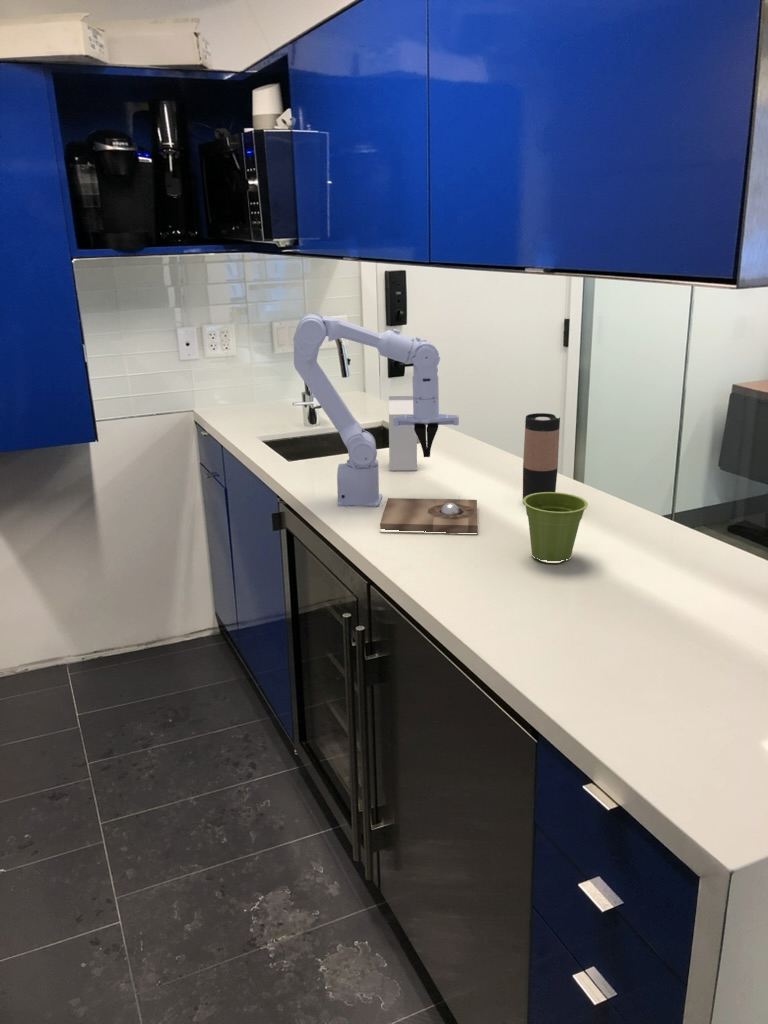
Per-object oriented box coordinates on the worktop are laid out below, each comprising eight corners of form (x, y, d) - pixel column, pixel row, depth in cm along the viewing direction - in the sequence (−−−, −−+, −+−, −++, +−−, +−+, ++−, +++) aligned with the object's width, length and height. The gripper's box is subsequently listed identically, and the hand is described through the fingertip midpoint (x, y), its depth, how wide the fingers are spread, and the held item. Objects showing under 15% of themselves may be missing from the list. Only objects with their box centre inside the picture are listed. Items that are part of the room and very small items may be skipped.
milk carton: (416, 471, 215) (416, 398, 209) (389, 471, 215) (388, 398, 209) (416, 463, 222) (416, 393, 216) (389, 463, 222) (389, 393, 216)
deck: (380, 532, 172) (380, 523, 171) (387, 506, 188) (387, 498, 187) (477, 534, 170) (477, 525, 169) (476, 508, 186) (476, 499, 185)
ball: (453, 516, 174) (446, 527, 177) (466, 509, 177) (458, 520, 180) (441, 503, 176) (434, 514, 178) (453, 496, 178) (446, 507, 181)
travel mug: (516, 505, 187) (520, 418, 181) (527, 496, 194) (531, 411, 187) (549, 510, 184) (554, 421, 178) (559, 500, 190) (564, 414, 184)
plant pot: (533, 572, 151) (536, 513, 148) (511, 549, 162) (513, 494, 159) (594, 566, 153) (598, 509, 150) (568, 544, 164) (572, 489, 161)
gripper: (391, 401, 182) (393, 461, 186) (458, 400, 180) (458, 460, 185) (394, 394, 188) (396, 452, 193) (458, 393, 187) (459, 452, 191)
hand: (426, 456), depth 189 cm, fingers closed
